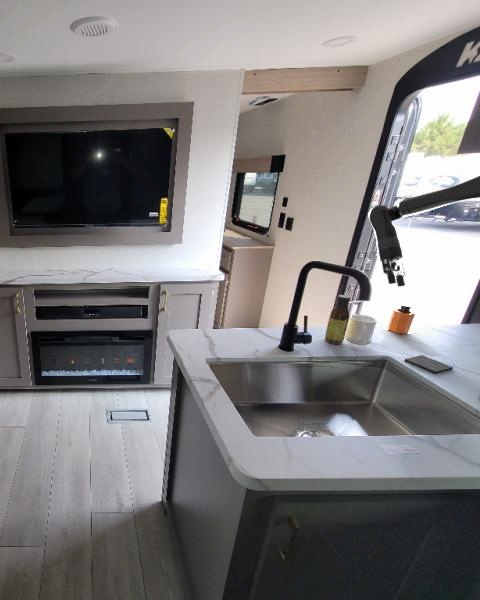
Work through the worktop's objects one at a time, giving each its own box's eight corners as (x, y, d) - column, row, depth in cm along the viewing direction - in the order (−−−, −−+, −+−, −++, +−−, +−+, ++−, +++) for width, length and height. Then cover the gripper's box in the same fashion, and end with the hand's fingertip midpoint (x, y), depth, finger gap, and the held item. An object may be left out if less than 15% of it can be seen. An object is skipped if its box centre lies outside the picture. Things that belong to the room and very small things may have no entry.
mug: (373, 351, 127) (381, 327, 123) (346, 346, 131) (353, 323, 127) (367, 338, 137) (374, 316, 133) (342, 334, 141) (349, 312, 137)
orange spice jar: (386, 326, 144) (393, 307, 141) (405, 329, 141) (412, 310, 138) (389, 331, 139) (395, 312, 136) (408, 334, 136) (416, 315, 133)
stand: (393, 328, 145) (402, 301, 140) (412, 335, 138) (422, 306, 134) (381, 330, 143) (390, 303, 138) (400, 337, 137) (410, 309, 132)
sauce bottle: (344, 346, 132) (358, 300, 125) (326, 343, 134) (338, 298, 127) (339, 338, 137) (351, 294, 130) (321, 336, 139) (333, 293, 132)
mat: (421, 356, 122) (421, 354, 122) (452, 369, 114) (453, 367, 114) (404, 360, 120) (404, 358, 120) (434, 373, 112) (435, 371, 112)
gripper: (393, 243, 135) (401, 280, 132) (407, 249, 142) (416, 284, 138) (370, 249, 142) (378, 284, 138) (386, 254, 148) (393, 288, 145)
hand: (397, 284), depth 138 cm, fingers open, 8 cm apart
